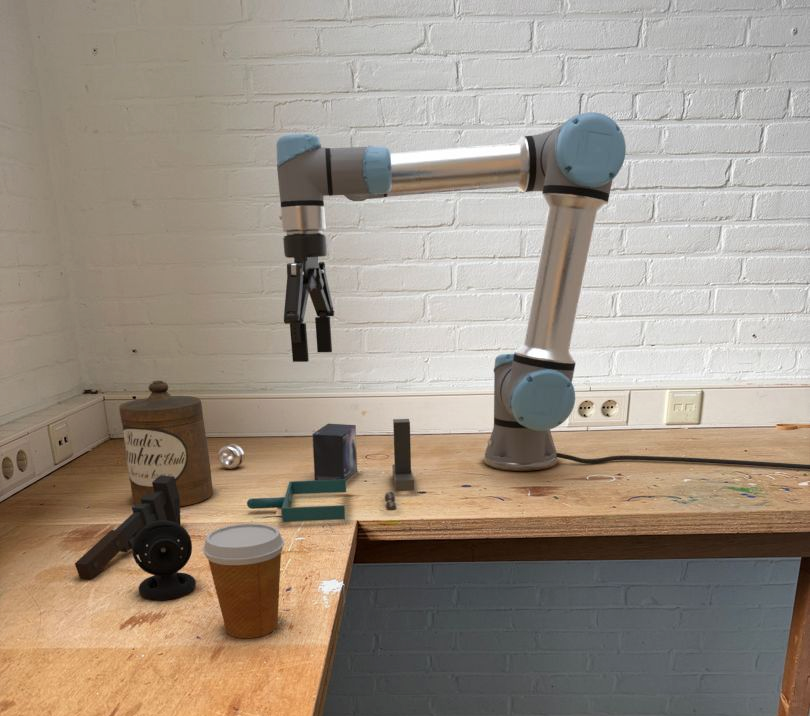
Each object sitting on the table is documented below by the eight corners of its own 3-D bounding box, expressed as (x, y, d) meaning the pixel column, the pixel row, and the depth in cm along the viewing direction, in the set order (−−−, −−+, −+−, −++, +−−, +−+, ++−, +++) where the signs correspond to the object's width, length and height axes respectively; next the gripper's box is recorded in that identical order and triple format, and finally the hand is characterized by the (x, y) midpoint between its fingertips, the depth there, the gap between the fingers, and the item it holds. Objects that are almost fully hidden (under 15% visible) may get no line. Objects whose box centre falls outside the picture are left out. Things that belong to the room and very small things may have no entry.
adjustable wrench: (86, 604, 117) (171, 519, 137) (102, 606, 116) (185, 520, 137) (69, 556, 113) (159, 475, 133) (86, 557, 112) (174, 476, 132)
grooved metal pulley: (245, 467, 173) (243, 444, 171) (238, 470, 170) (236, 447, 169) (225, 465, 174) (223, 443, 173) (218, 469, 172) (215, 446, 170)
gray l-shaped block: (410, 478, 161) (408, 414, 157) (414, 495, 150) (412, 426, 145) (392, 478, 161) (390, 414, 156) (395, 495, 150) (393, 427, 145)
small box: (345, 487, 156) (342, 434, 152) (313, 486, 157) (310, 433, 153) (359, 473, 165) (357, 423, 162) (329, 472, 167) (326, 422, 163)
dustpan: (346, 495, 151) (345, 479, 149) (345, 524, 135) (344, 505, 133) (253, 499, 150) (252, 482, 149) (241, 528, 134) (239, 510, 133)
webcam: (141, 605, 105) (131, 533, 101) (135, 585, 111) (125, 517, 108) (201, 594, 108) (193, 524, 104) (192, 575, 114) (184, 509, 111)
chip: (394, 499, 147) (394, 490, 147) (395, 506, 143) (395, 496, 143) (384, 500, 147) (384, 490, 147) (385, 506, 143) (385, 497, 143)
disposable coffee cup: (217, 613, 102) (207, 524, 98) (292, 608, 103) (285, 520, 99) (206, 647, 93) (195, 551, 89) (288, 642, 94) (281, 546, 90)
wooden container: (116, 505, 148) (97, 386, 141) (164, 484, 161) (150, 374, 154) (183, 511, 143) (168, 388, 136) (228, 489, 156) (216, 376, 149)
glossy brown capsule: (395, 507, 143) (395, 498, 142) (396, 514, 139) (396, 504, 138) (385, 508, 142) (385, 498, 142) (386, 515, 139) (386, 505, 138)
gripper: (307, 235, 152) (315, 348, 159) (256, 233, 129) (268, 366, 137) (345, 233, 151) (351, 348, 158) (300, 231, 128) (310, 365, 135)
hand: (313, 356), depth 147 cm, fingers open, 13 cm apart
